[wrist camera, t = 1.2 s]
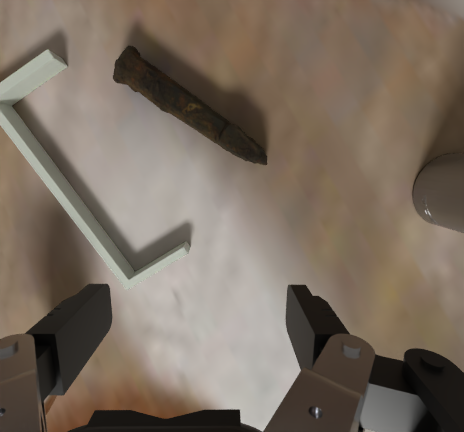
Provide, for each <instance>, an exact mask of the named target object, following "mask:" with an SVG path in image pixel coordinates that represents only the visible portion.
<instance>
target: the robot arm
mask: <svg viewBox="0 0 464 432" xmlns="http://www.w3.org/2000/svg"><path fill="white" fill-rule="evenodd" d="M413 202H414V205H415V208H416V210H417V212H418V213H419V215H420V216H421V217H422V218H423V219H424V220H426V221H428V222H429V223H432V224H435V225H438V226H442V227H445V228H448V229H452V230H455V231H458V232H461V233H464V153H453V154H446V155H443V156H440V157H438V158H436V159H434V160H432V161H431V162H430V163H429V164H428V165H426V166H425V167H424V169H423V170H422V171H421V172H420V174H419V176H418V178H417V179H416V182H415V185H414V190H413ZM111 323H112V308H111V297H110V288H109V285H108V284H88V285H87V286H86V287H85V288H83V289H82V290H81V291H80V292H79V293H78V294H77V295H74V296H72V297H70V298H68V299H66V300H64V301H62V302H61V303H60V304H59V305H58V306H57V307H55V308H54V310H52V311H51V312H50V313H48V314H47V316H45V317H44V318H42V319H41V320H40V321H39V322H38V323H37V324H35V325H34V326H33V327H32V328H31V329H30V330H28V331H27V332H26V333H25V334H16V335H11V336H7V337H4V338H2V339H0V432H48V431H47V422H46V412H45V405H44V400H45V399H46V398H47V396H48V395H64V394H65V393H66V391H67V390H68V389H69V387H70V386H71V384H72V383H73V381H74V380H75V379H76V377H77V376H78V374H79V373H80V371H81V370H82V369H83V367H84V366H85V364H86V363H87V361H88V360H89V359H90V357H91V356H92V354H93V353H94V351H95V350H96V348H97V347H98V346H99V344H100V343H101V341H102V340H103V338H104V337H105V336H106V334H107V333H108V331H109V329H110V327H111ZM286 327H287V332H288V335H289V338H290V340H291V343H292V346H293V349H294V352H295V355H296V357H297V360H298V363H299V366H300V369H301V372H300V373H299V375H298V377H297V378H296V380H295V381H294V383H293V385H292V386H291V388H290V389H289V391H288V393H287V394H286V396H285V397H284V399H283V401H282V402H281V404H280V406H279V407H278V409H277V410H276V412H275V414H274V415H273V417H272V418H271V420H270V422H269V423H268V425H267V426H266V428H265V430H264V431H263V432H365V429H368V430H372V431H375V432H464V373H463V372H462V371H461V370H460V369H459V368H458V367H457V366H456V365H455V364H454V363H452V362H451V361H450V360H448V359H447V358H445V357H443V356H441V355H439V354H437V353H434V352H432V351H428V350H424V349H417V348H416V349H409V350H407V351H406V352H405V354H404V360H403V361H401V360H396V359H391V358H387V357H383V356H379V355H376V354H375V351H374V349H373V348H372V346H371V345H370V344H369V343H367V342H366V341H365V340H363V339H361V338H359V337H357V336H354V335H350V333H349V332H348V331H347V329H346V328H345V326H344V325H343V324H342V322H341V321H340V319H339V318H338V317H337V315H336V314H335V312H334V311H332V308H331V307H330V305H329V304H328V302H326V301H325V300H324V299H322V298H321V297H319V296H312V294H311V292H310V291H309V289H308V288H307V286H306V285H288V288H287V303H286ZM68 432H262V431H260V430H258V429H256V428H254V427H251V426H249V425H246V424H243V423H241V422H240V410H202V411H198V412H194V413H189V414H185V415H181V416H177V417H173V418H169V419H162V418H158V417H155V416H151V415H147V414H143V413H139V412H136V411H132V410H95V411H94V413H93V415H92V417H91V419H90V421H89V422H88V424H87V425H84V426H81V427H78V428H75V429H72V430H70V431H68Z"/></svg>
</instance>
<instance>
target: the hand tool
mask: <svg viewBox="0 0 464 432" xmlns="http://www.w3.org/2000/svg"><path fill="white" fill-rule="evenodd" d="M113 79H114V81H115V82H117V83H121V84H127V85H128V86H129V87H130V88H131V89H132V90H133V91H135V92H140V93H141V94H142V95H143V96H145V97H146V98H147V99H148V100H149V101H151V102H153V103H154V104H155V105H156V106H157V107H159V108H160V109H161V110H162V111H164V112H167V113H170V114H172V115H173V116H175V117H177V118H178V119H180V120H181V121H183V122H184V123H186V124H187V125H189V126H191V127H192V128H194V129H195V130H197V131H198V132H200V133H201V134H203V135H204V136H206V137H207V138H209V139H210V140H212V141H213V142H214V143H217V144H218V145H220V146H221V147H222V148H223V149H225V150H226V151H229V152H231V153H232V154H233V155H235V156H237V157H239V158H242V159H243V160H245V161H249V162H253V163H259V164H262V165H267V156H266V154H265V152H264V150H263V149H262V147H261V146H260V145H259V144H257V143H256V142H255V141H254V140H253V139H252V138H250V137H248V136H247V135H246V134H245V133H244V132H243V131H242V130H241V129H240V128H239V127H237V126H235V125H234V124H231V123H230V122H229V121H228V120H226V119H225V118H223V117H222V116H221V115H219V114H218V113H217V112H215V111H213V110H212V109H211V108H210V107H209V106H207V105H206V104H204V103H203V102H202V101H201V100H199V99H198V98H197V97H195V96H194V95H192V94H191V93H190V92H189V91H187V90H186V89H184V88H183V87H182V86H180V85H179V84H177V83H176V82H175V81H173V80H172V79H171V78H170V77H168V76H167V75H165V74H164V73H162V72H161V71H160V70H158V69H157V68H156V67H155V66H153V65H151V64H149V63H148V62H147V61H145V60H144V59H142V58H141V56H140V53H139V52H138V51H137V49H136V48H135V47H133V46H128V47H126V48H125V50H124V51H123V52H122V54H121V55H120V57H119V58H118V59H117V60H116V62H115V69H114V75H113Z"/></svg>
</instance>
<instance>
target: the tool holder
mask: <svg viewBox="0 0 464 432" xmlns="http://www.w3.org/2000/svg"><path fill="white" fill-rule="evenodd" d="M67 67H68V66H67V65H66V63H65V62H64V60H63V59H62V58H61V57H59V56H58V55H56V54H55V53H53V52H52V51H50V50H48V49H47V50H46V51H44V52H43V53H41V54H40V55H38V56H37V57H36V58H34V59H33V60H31V61H30V62H29V63H27V64H26V65H24V66H23V67H22V68H20V69H19V70H17V71H16V72H14V73H13V74H12V75H10V76H9V77H7V78H6V79H5V80H3V81H2V82H0V125H1V127H2V128H3V129H4V131H5V132H6V133H7V135H8V136H9V137H10V138H11V140H12V141H13V142H14V144H15V145H16V146H17V148H18V149H19V150H20V152H21V153H22V154H23V155H24V157H25V158H26V159H27V161H28V162H29V163H30V165H31V166H32V167H33V169H34V170H35V171H36V173H37V174H38V175H39V176H40V178H41V179H42V180H43V182H44V183H45V184H46V186H47V187H48V188H49V190H50V191H51V192H52V193H53V195H54V196H55V197H56V199H57V200H58V201H59V203H60V204H61V205H62V207H63V208H64V209H65V210H66V212H67V213H68V214H69V216H70V217H71V218H72V220H73V221H74V222H75V224H76V225H77V226H78V227H79V229H80V230H81V231H82V233H83V234H84V235H85V237H86V238H87V239H88V241H89V242H90V243H91V244H92V246H93V247H94V248H95V250H96V251H97V252H98V254H99V255H100V256H101V258H102V259H103V260H104V261H105V263H106V264H107V265H108V267H109V268H110V269H111V271H112V272H113V273H114V275H115V276H116V277H117V278H118V280H119V281H120V282H121V284H122V285H123V286H124V288H125V289H126V290H129V289H130V288H132V287H134V286H135V285H137V284H139V283H140V282H142V281H144V280H145V279H147V278H149V277H150V276H152V275H154V274H155V273H157V272H159V271H160V270H162V269H163V268H165V267H167V266H168V265H170V264H172V263H173V262H175V261H177V260H178V259H180V258H182V257H183V256H185V255H187V254H188V252H189V250H190V246H189V244H188V243H187V241H185V242H184V243H182V244H180V245H179V246H177V247H175V248H174V249H172V250H170V251H169V252H167V253H166V254H164V255H162V256H161V257H159V258H157V259H156V260H154V261H152V262H151V263H149V264H147V265H146V266H144V267H142V268H141V269H139V270H138V271H136V272H135V271H134V270H133V268H132V267H131V266H130V264H129V263H128V261H127V260H126V259H125V257H124V256H123V255H122V253H121V252H120V251H119V249H118V248H117V247H116V245H115V244H114V243H113V241H112V240H111V239H110V237H109V236H108V235H107V233H106V232H105V231H104V229H103V228H102V227H101V225H100V224H99V222H98V221H97V220H96V218H95V217H94V216H93V214H92V213H91V212H90V210H89V209H88V208H87V206H86V205H85V204H84V202H83V201H82V200H81V198H80V197H79V196H78V194H77V193H76V192H75V190H74V189H73V188H72V186H71V185H70V183H69V182H68V181H67V179H66V178H65V177H64V175H63V174H62V173H61V171H60V170H59V169H58V167H57V166H56V165H55V163H54V162H53V161H52V159H51V158H50V157H49V155H48V154H47V153H46V151H45V150H44V149H43V147H42V146H41V145H40V143H39V142H38V140H37V139H36V138H35V136H34V135H33V134H32V132H31V131H30V130H29V128H28V127H27V126H26V124H25V123H24V122H23V120H22V119H21V118H20V116H19V115H18V114H17V112H16V111H15V110H14V108H13V107H12V105H14V104H15V103H17V102H18V101H19V100H21V99H22V98H24V97H25V96H27V95H28V94H29V93H31V92H32V91H34V90H35V89H37V88H38V87H40V86H41V85H42V84H44V83H45V82H47V81H48V80H50V79H51V78H52V77H54V76H55V75H57V74H58V73H60V72H61V71H63V70H64V69H65V68H67Z"/></svg>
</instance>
